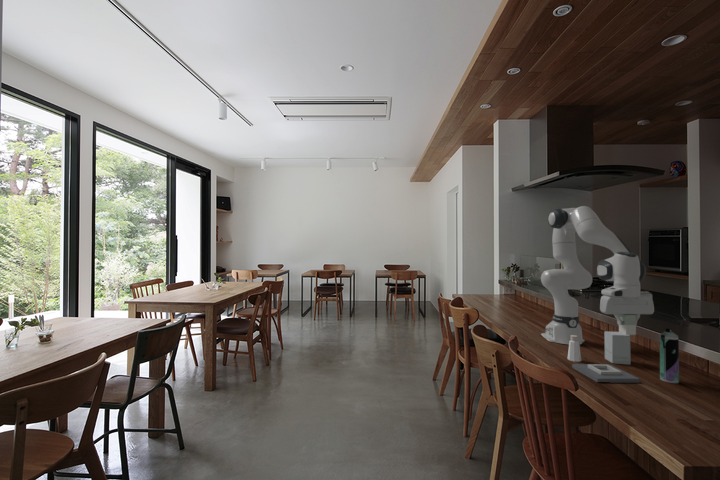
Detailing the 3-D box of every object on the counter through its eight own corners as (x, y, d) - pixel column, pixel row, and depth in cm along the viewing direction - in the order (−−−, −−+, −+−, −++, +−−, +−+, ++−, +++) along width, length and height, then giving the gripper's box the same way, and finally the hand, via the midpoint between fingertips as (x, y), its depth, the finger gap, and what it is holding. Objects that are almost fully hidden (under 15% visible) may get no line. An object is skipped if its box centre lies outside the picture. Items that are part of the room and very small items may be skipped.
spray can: (674, 384, 132) (674, 330, 132) (657, 379, 137) (656, 327, 137) (681, 381, 135) (681, 329, 135) (664, 376, 140) (663, 326, 140)
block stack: (618, 332, 148) (618, 313, 148) (628, 332, 148) (628, 313, 148) (626, 334, 144) (626, 315, 144) (635, 334, 144) (635, 315, 144)
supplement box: (631, 364, 153) (631, 335, 154) (612, 363, 155) (611, 334, 155) (622, 359, 161) (622, 331, 161) (604, 358, 162) (603, 330, 162)
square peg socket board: (572, 367, 150) (572, 361, 150) (609, 367, 150) (609, 361, 150) (597, 382, 134) (597, 375, 134) (639, 382, 134) (639, 375, 134)
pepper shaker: (581, 362, 156) (581, 337, 156) (567, 360, 159) (567, 336, 159) (581, 359, 161) (581, 335, 161) (567, 357, 164) (567, 333, 164)
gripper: (645, 290, 149) (645, 323, 149) (597, 290, 149) (597, 323, 149) (658, 292, 143) (658, 326, 143) (607, 292, 143) (608, 326, 143)
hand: (627, 324), depth 146 cm, fingers closed on block stack, 4 cm apart
